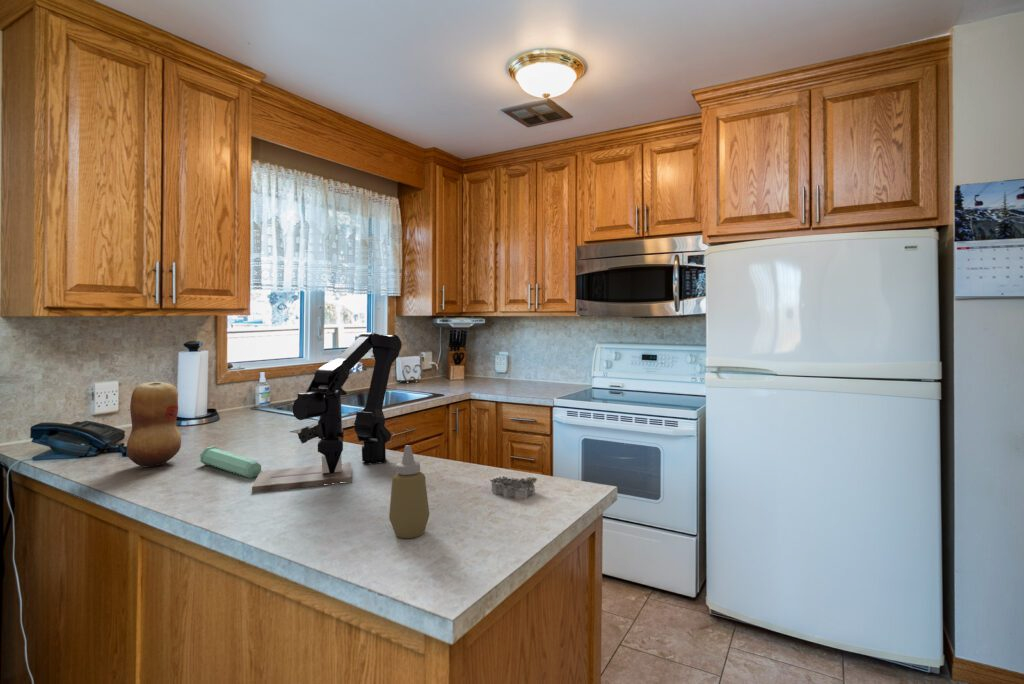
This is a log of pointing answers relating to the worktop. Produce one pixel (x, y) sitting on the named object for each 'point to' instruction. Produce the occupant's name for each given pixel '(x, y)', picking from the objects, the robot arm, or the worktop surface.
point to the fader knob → (325, 466)
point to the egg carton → (514, 487)
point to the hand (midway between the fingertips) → (332, 469)
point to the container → (230, 462)
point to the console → (299, 478)
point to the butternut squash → (153, 424)
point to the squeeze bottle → (408, 498)
